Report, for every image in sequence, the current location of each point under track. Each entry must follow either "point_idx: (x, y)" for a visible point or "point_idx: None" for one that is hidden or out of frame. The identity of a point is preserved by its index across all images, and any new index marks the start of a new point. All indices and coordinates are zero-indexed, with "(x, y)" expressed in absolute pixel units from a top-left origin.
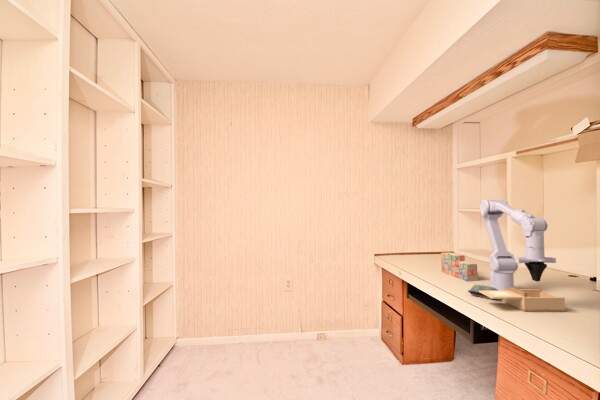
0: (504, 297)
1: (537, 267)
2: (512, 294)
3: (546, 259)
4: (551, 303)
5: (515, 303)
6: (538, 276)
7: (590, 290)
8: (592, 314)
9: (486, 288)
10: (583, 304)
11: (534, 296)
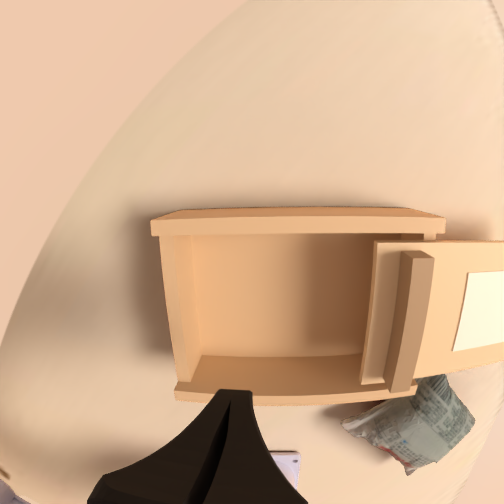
0: None
1: (251, 493)
2: (451, 298)
3: None
4: (254, 211)
5: None
6: (231, 414)
7: None
8: (87, 181)
9: (448, 417)
10: (45, 305)
11: (229, 368)
